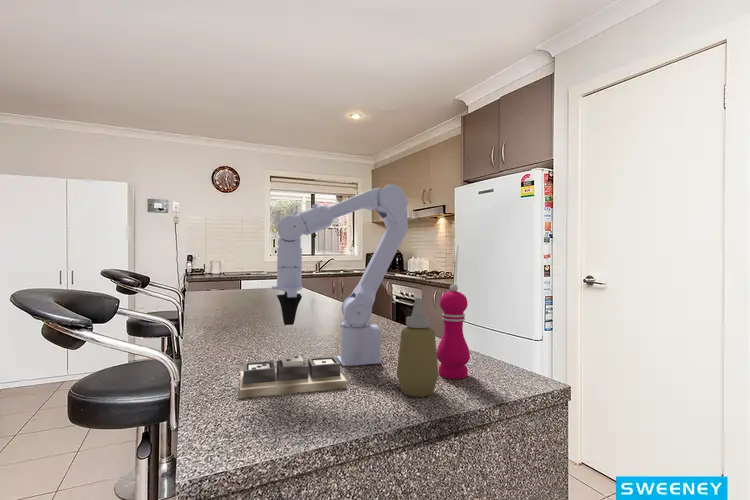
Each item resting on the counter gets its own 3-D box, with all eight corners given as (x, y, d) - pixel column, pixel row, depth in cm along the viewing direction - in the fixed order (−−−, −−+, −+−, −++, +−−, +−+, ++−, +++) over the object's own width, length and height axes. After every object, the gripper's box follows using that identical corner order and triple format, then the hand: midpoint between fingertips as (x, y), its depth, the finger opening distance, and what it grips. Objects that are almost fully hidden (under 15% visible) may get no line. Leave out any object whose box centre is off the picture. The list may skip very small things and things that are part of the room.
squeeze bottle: (410, 403, 70) (412, 302, 71) (388, 389, 78) (389, 297, 78) (447, 395, 74) (448, 300, 74) (422, 383, 81) (423, 295, 81)
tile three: (268, 373, 81) (269, 362, 81) (269, 379, 77) (269, 368, 77) (248, 374, 80) (248, 364, 80) (248, 381, 76) (248, 369, 76)
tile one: (331, 368, 85) (331, 358, 85) (335, 373, 81) (335, 363, 81) (312, 369, 84) (312, 359, 84) (315, 375, 80) (315, 364, 80)
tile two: (300, 365, 83) (301, 355, 83) (303, 370, 79) (303, 359, 79) (281, 366, 82) (281, 356, 82) (282, 372, 78) (283, 361, 78)
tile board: (334, 370, 89) (334, 352, 89) (346, 388, 78) (346, 367, 78) (241, 378, 83) (241, 359, 83) (239, 398, 72) (239, 376, 72)
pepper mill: (433, 370, 90) (433, 282, 91) (463, 369, 91) (464, 283, 91) (440, 380, 83) (441, 285, 83) (474, 379, 84) (475, 285, 84)
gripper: (270, 266, 100) (270, 320, 100) (273, 268, 86) (273, 331, 86) (298, 266, 102) (298, 318, 102) (306, 268, 88) (305, 329, 88)
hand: (288, 324), depth 94 cm, fingers closed
